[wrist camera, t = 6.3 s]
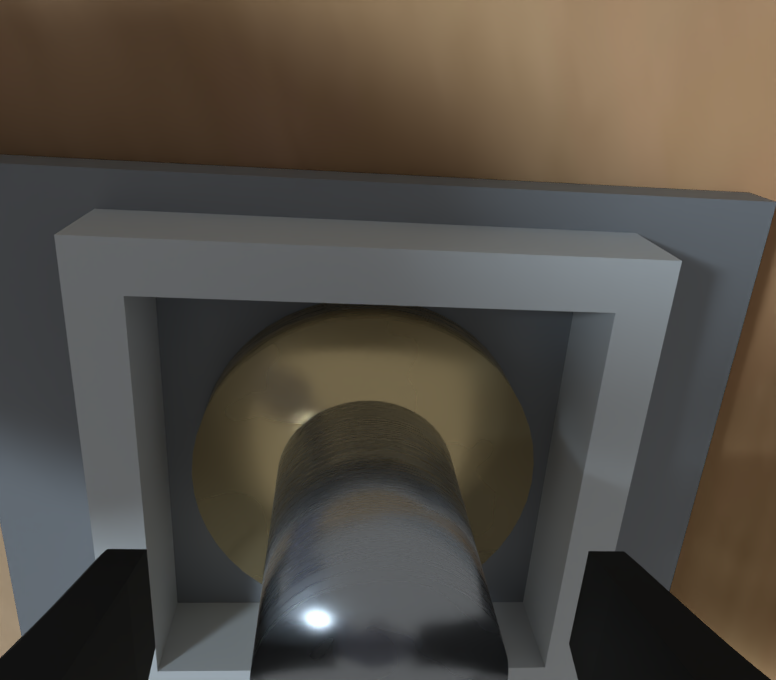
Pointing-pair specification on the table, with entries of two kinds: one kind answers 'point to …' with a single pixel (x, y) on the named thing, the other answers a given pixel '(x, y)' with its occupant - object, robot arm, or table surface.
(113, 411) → the carrier
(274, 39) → the table surface
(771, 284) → the table surface
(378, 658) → the flanged metal cylinder
